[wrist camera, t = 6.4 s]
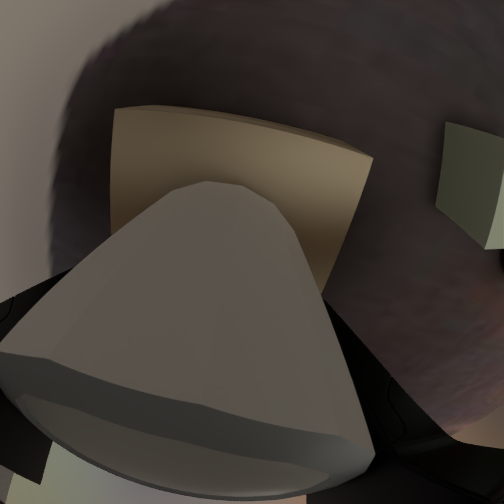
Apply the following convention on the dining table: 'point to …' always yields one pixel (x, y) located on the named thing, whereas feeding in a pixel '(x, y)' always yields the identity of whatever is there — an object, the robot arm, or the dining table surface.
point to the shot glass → (193, 356)
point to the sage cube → (473, 183)
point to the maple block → (239, 170)
